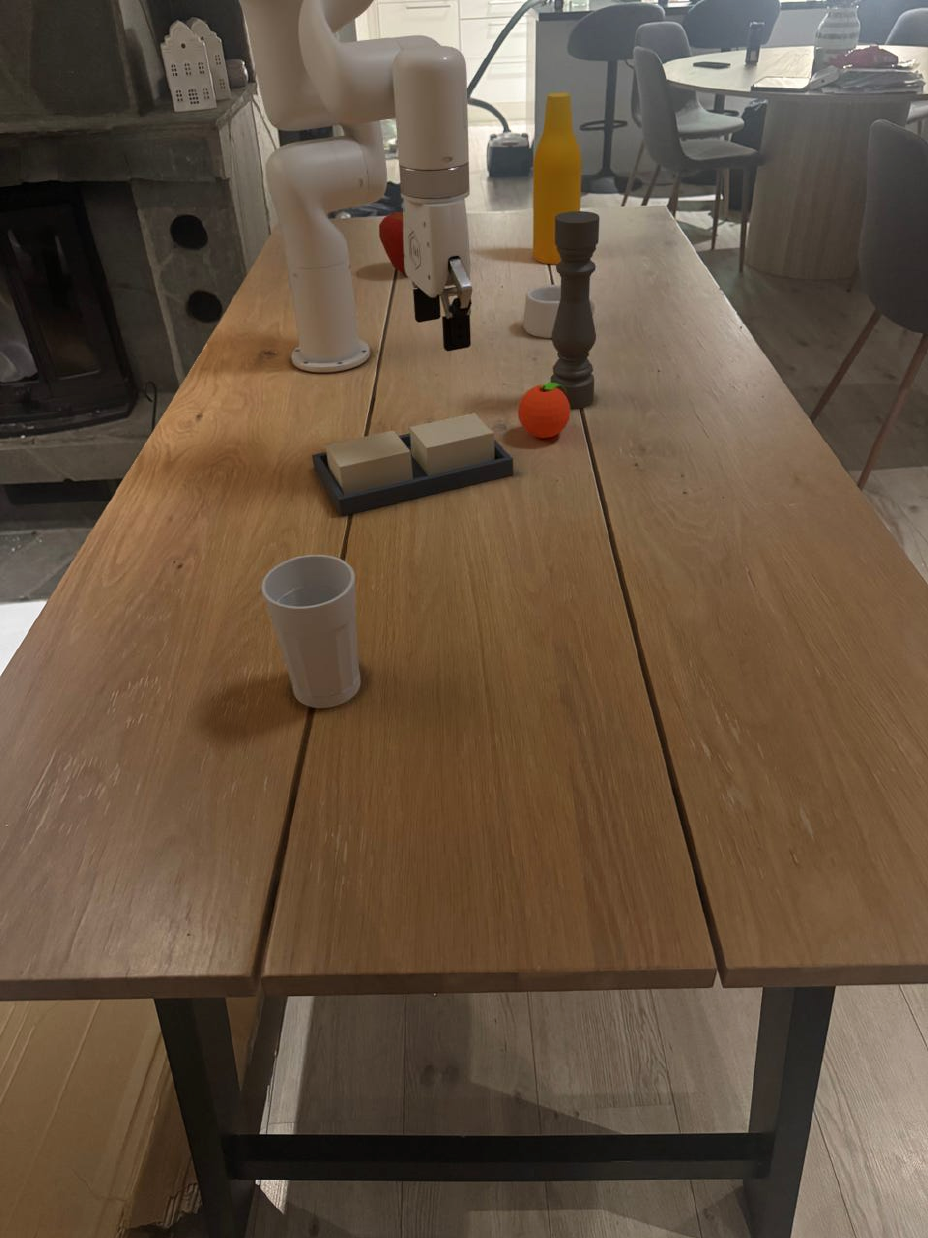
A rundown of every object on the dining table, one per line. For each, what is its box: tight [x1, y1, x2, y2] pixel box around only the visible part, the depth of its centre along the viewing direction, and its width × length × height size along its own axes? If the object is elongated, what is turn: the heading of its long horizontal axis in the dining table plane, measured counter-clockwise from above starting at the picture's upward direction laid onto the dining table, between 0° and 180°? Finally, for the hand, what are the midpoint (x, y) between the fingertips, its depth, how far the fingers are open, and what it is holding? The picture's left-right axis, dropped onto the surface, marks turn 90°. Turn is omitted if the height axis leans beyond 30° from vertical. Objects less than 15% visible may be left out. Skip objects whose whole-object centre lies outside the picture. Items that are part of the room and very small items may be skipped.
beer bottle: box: [532, 92, 583, 265], centre depth 178 cm, size 9×9×29 cm
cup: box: [261, 554, 362, 709], centre depth 83 cm, size 8×8×12 cm
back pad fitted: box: [325, 430, 413, 496], centre depth 115 cm, size 6×9×4 cm
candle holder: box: [550, 210, 600, 410], centre depth 126 cm, size 6×6×25 cm
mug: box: [522, 284, 596, 339], centre depth 154 cm, size 12×10×6 cm
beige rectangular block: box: [409, 412, 495, 476], centre depth 118 cm, size 6×9×4 cm
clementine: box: [517, 382, 571, 439], centre depth 123 cm, size 8×7×7 cm
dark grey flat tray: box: [311, 432, 514, 517], centre depth 118 cm, size 13×23×2 cm, turn 112°
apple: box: [378, 211, 407, 276], centre depth 179 cm, size 11×11×12 cm
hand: (442, 333), depth 111 cm, fingers open, 9 cm apart
